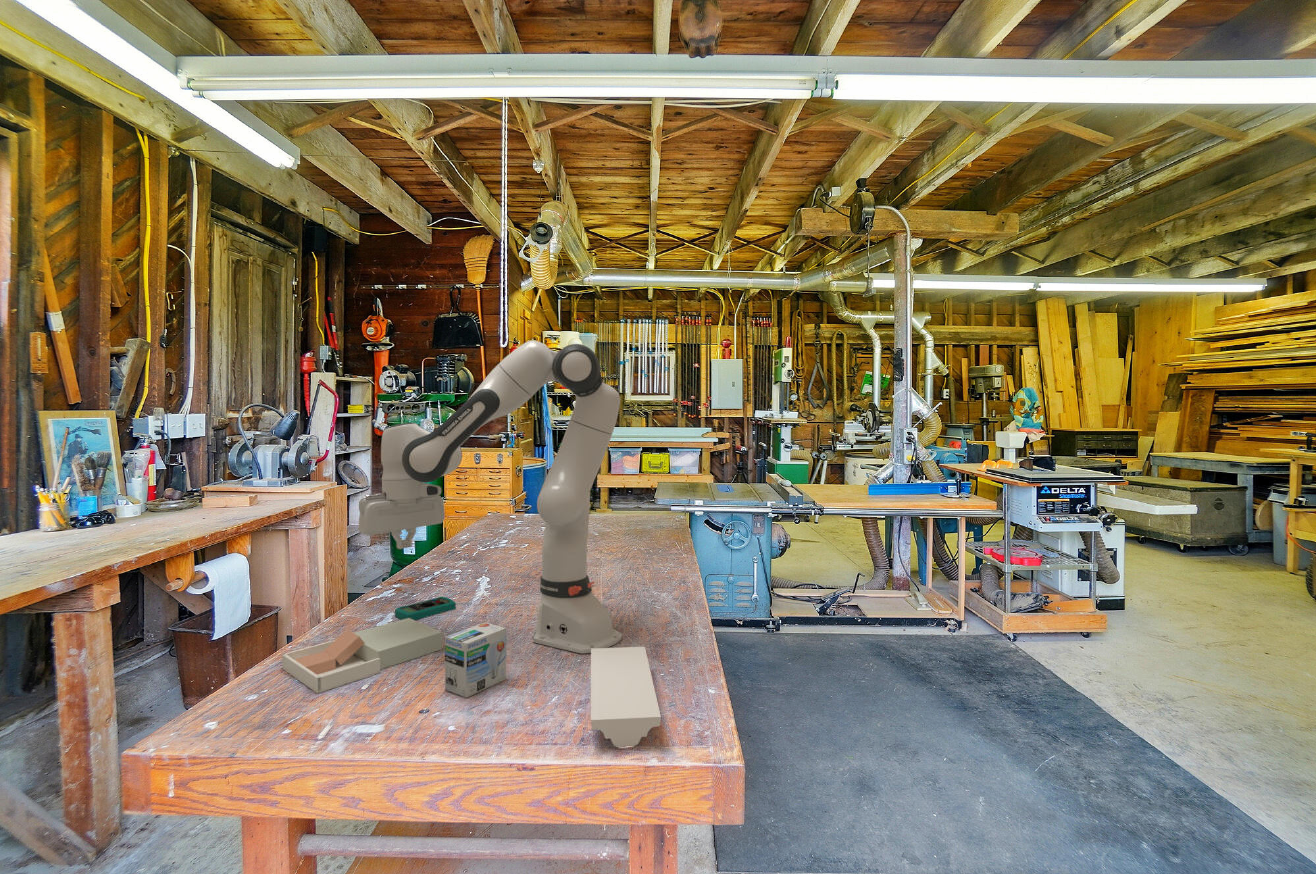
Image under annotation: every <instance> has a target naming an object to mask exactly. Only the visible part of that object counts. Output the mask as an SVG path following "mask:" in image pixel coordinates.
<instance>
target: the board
mask: <svg viewBox="0 0 1316 874" xmlns="http://www.w3.org/2000/svg"><path fill="white" fill-rule="evenodd" d="M353 633H354V634H356V635H358V636H359V637H360V638H361V639H362V640H363V641H364V643H365V644H364V645H363V646H361V647H360V648H359V649H358V650H357V651H356V652H355V653H354V654H353V655H354V656H356V657H357V658H359V659H361V660H363V661H365V662H367V661H370V660H373V659H377V658H380V670H383V669H386V668H390V667H392V666H395V665H399V664H401V663H405V662H407V661H411V660H414V659H417V658H420V657H422V656H426V655H430V654H432V653H435V652H437V651H441V650H443V631H441V630H439V629H436V628H433V627H431V626H429V625H426V624H425V623H422V622H419V621H418V620H413V619H410V618H407V619H403V620H401V619H399V620H395V621H393V622H388V623H385V624H381V625H377V626H374V627H370V628H366V629H363V630H359V631H355V632H353Z"/></svg>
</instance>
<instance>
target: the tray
mask: <svg viewBox="0 0 1316 874" xmlns="http://www.w3.org/2000/svg"><path fill="white" fill-rule="evenodd" d="M335 640H336V639H333V640H330V641H326V642H323V643H319V644H315V645H312V646H311V645H310V646H307V647H304V648H301V649H297V650H293V651H290V652H286V653H283V654H281V668H282V670H284V671H285V672H287V673H288V674H289V675H291V676H292V677H293V678H295V679H296V680H298V681H299V682H301V683H302V684H303V685H305V686H306V687H308V688H309V689H311V690H312V691H314V692H315V693H316V694H320V693H324V692H326V691H329V690H333V689H335V688H338V687H341V686H344V685H348V684H350V683H353V682H357V681H360V680H362V679H365V678H369V677H371V676H374V675H376V674H378V675H379V674H380V673H381V669H380V658H377V659H373V660H370V661H367V662H365V661H363V660H361V659H359V658H357V657H356V656H354V655H352V656H350V657H349V658H348V659H347V660H346V661H345V662H344V663H343V664H342V665H340V664H339V663H337V662H336V661H335V665H336V669H334V670H331V671H327V672H324V673H320V674H315V673H314V672H312V671H311V670H309V669H308V668H306V667H305V666H303V665H302V664H300V663H298V662H297V661H295V660H294V659H297V658H301V657H305V656H308V655H312V654H316V653H320V652H323V651H324V650H325V649H326V648H327V647H328V646H329V645H330V644H332V643H333V642H334V641H335Z"/></svg>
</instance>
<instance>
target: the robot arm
mask: <svg viewBox="0 0 1316 874" xmlns="http://www.w3.org/2000/svg"><path fill="white" fill-rule="evenodd" d="M550 382H556V383H557V384H560V385H561V387H563V388H565V389H567V390H569V391H570V392H572V393H573V394H574V395H575V404H574V407H573V410H572V413H571V416H570V418H569V421H568V424H567V427H566V430H565V432H564V436H563V437H562V440H561V443H560V446H559V449H558V450H557V453H556V456H555V457H554V460H553V462H552V464H551V466H550V468H549V470H548V473H547V475H546V477H545V480H544V482H543V484H542V487H541V490H540V491H539V495H537V500H536V509H537V512H538V515H539V517H540V518H541V519H542V521H544V522H545V523H544V525H545V527H544V535H543V541H542V546H541V547H542V548H541V553H542V555H541V564H542V565H541V566H542V567H541V573H542V574H541V576H540V581H539V590H540V591H539V592H540V593H541V597H540V602H539V605H538V610H537V611H538V612H537V621H536V629H535V631H534V634H535V635H534V637H533V643H536V644H540V645H543V646H547V647H551V648H557V649H559V650H565V651H568V652H569V651H570V652H574V653H579V654H589V653H590V654H591V649H593V648H611V647H612V646H614V645H616V644H617V643H619V642H620V641H622V639H623V634H622V632H620V631H618V630H616V629H614V628H613V620H612V615H611V613H610V612H609V610H608V609H607V607H606V606H604V605H603V603H601V601H600V600H599V599H598V597H596V596H595V595H594V593H593V589H592V588H593V587H595V585H594V584H595V583H596V582H595V581H590V578H589V575H588V569H587V568H588V567H587V566H588V564H587V563H588V561H587V560H588V559H587V558H588V555H587V553H588V547H587V545H588V536H589V522H590V521H589V520H590V506H591V505H590V504H591V502H590V501H591V489H592V487H593V484H594V482H595V479H596V477H597V475H598V472H599V470H600V468H601V465H602V462H603V461H604V457H605V455H606V452H607V449H608V447H609V444H610V441H611V438H612V436H613V433H614V430H615V427H616V424H617V419H618V416H619V411H620V406H621V397H620V396H621V395H620V394H619V392H618V391H617V390H616V389H615V388H614V387H613V386H611V385H610V384H607V383H605V382H604V381H603V378H602V371H601V366H600V361H599V359H598V357H597V355H596V353H595V352H594V351H593V349H591V348H590V347H588V346H586V345H584V344H579V343H571V344H568V345H566V346H564V347H562V348H561V349H560V350H559V351H554V350H552V349H550V347H548V346H547V345H546V344H544V343H543V342H541V341H538V340H534V339H533V340H528V341H525V342H524V343H523V344H521V345H520V346H517V348H514V349H513V350H512V351H511V353H509V354H508V355H507V356H505V357H504V358H503V359H502V360H501V361H500V362H499V363H498V364H497V365H495V367H494V368H493V369H492V370H491V371H490V372H489V374H488V375H487V376H485V378H484V379H483V381H482V382H481V383H480V384H479V386H478V387H477V388H476V389H475V390H474V391H473V393H472V394H471V395H470V396H469V398H468V399H467V400H466V401H465V402H464V403H463V404H462V405H461V406H460V407H459V408H458V409H457V410H456V411H455V412H453V413H452V414H451V415H450V416H449V417H448V418H447V419H446V420H445V421H443V422H442V423H441V424H440V425H439V426H438V427H437V428H436V429H434V430H433V431H432V432H431V431H429V430H427V429H425V428H423V427H421V426H419V424H417V423H415V422H405V423H398V424H394V425H390V426H387V427H386V428H385V429H384V430H383V432H382V435H381V443H380V444H381V445H380V462H381V464H382V469H383V471H382V477H381V489H382V490H381V491H382V492H380V493H375V494H374V493H373V494H372V493H371V494H366V495H364V496H363V497H362V498H361V499H360V500H359V502H358V510H359V517H358V531H359V533H360V534H361V535H363V536H368V537H369V536H374V535H375V536H376V535H380V534H387V533H391V536H392V537H393V539H394V540H395V542H396V549H398V550H402V549H406V548H407V549H408V548H412V546H413V539H414V537H415V535H416V533H417V528H421V527H427V526H428V527H429V526H432V525H434V526H435V525H438V524H443V522H444V520H445V518H446V517H445V513H446V512H445V503H444V500H443V498H442V496H441V494H442V487H441V486H439V485H435V484H431V483H430V482H435V481H436V480H438V479H440V478H441V477H444V476H447V475H449V474H452V473H453V472H454V471H456V470H457V469H458V468H459V466H460V465H461V462H462V459H463V452H462V447H461V446H463V444H464V443H465V442H466V441H467V440H468V439H469V438H470V437H471V436H472V435H474V434H475V433H476V432H477V431H478V430H479V429H480V428H481V427H483V426H484V425H486V424H488V423H489V422H492V421H493V420H496V419H498V418H501V417H504V416H508V415H509V414H512V413H513V412H515V411H517V410H518V409H520V408H521V407H522V406H523V405H524V404H526V403H527V402H528V401H529V400H530V399H531V398H532V397H533V396H534V395H535V394H536V393H537V392H538V391H539V390H540V389H541V388H542V387H544V385H546V384H548V383H550ZM402 531H405V532H406V533H407V534H406V537H405V539H402V537H401V535H402V534H403V532H402Z"/></svg>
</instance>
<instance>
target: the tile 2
mask: <svg viewBox="0 0 1316 874" xmlns="http://www.w3.org/2000/svg"><path fill="white" fill-rule="evenodd" d="M354 633H355V632H352V631H351V630H349V629H346V630H345V631H343V632H342V634H341V635H339V637H337V638H335V639H334V640H335V641H334V642H333V643H332V644H330V645H329V646H328V647H327V648H326V649H325V650H324V651H325V652H326V653H328V654H329V655H331V656H332V657H334V658H335V661H336V662H337V663H339V664H340V665H342V664H343V663H344V662H345V661H346V660H347V659H348V658H349V657H350V656H352V655H353V654H354V653H355V652H356V651H357V650H358V649H359V648H360V647H361V646H363V645H364V644H365V643H364V641H363V640H362V639H361V638H360V637H359V636H358V635H356V634H354Z"/></svg>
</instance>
